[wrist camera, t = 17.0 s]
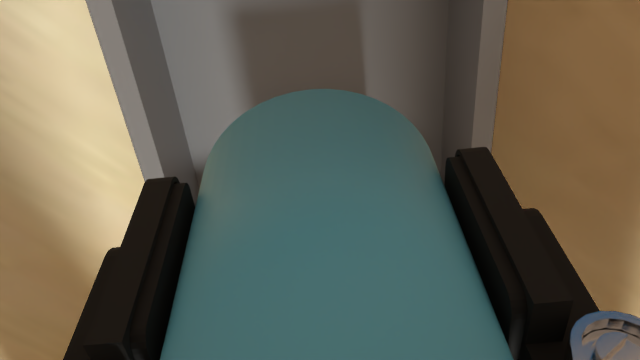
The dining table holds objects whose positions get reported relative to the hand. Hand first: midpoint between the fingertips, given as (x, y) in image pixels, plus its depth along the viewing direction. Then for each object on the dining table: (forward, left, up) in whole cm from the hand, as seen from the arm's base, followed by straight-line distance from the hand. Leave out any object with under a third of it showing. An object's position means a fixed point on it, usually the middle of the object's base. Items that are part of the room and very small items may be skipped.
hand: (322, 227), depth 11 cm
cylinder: (0, 0, -1) cm, 1 cm away
